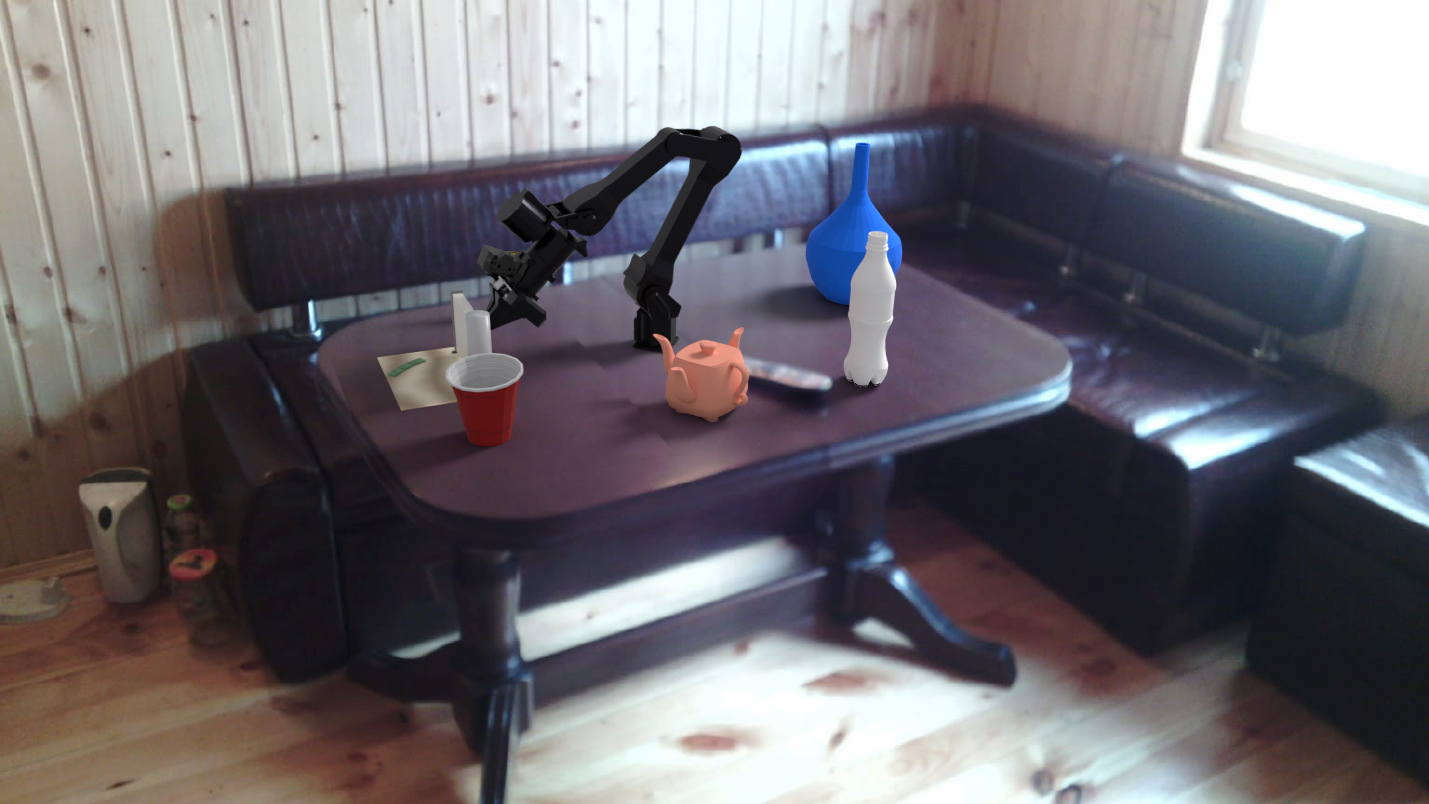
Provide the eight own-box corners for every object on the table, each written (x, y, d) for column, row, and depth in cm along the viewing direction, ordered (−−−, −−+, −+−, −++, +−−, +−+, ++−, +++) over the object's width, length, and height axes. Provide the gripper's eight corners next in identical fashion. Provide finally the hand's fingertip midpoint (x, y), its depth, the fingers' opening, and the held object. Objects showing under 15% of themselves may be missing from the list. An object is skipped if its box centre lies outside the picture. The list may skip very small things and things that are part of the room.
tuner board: (474, 350, 197) (473, 342, 196) (506, 401, 180) (506, 392, 179) (377, 364, 191) (376, 355, 190) (401, 417, 174) (401, 408, 173)
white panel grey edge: (496, 389, 180) (492, 317, 175) (473, 392, 178) (468, 320, 173) (470, 349, 193) (466, 281, 188) (449, 352, 192) (444, 283, 187)
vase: (806, 277, 235) (815, 130, 222) (897, 284, 233) (912, 136, 220) (799, 310, 219) (809, 152, 206) (897, 317, 217) (913, 159, 204)
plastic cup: (435, 451, 165) (428, 374, 159) (478, 421, 174) (474, 347, 168) (500, 468, 161) (495, 390, 156) (541, 436, 170) (538, 361, 165)
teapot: (670, 433, 172) (671, 365, 167) (652, 392, 184) (652, 328, 180) (764, 425, 175) (767, 358, 170) (740, 385, 188) (743, 322, 183)
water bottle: (890, 375, 193) (905, 230, 182) (881, 392, 187) (896, 243, 176) (848, 368, 195) (860, 224, 184) (837, 385, 189) (850, 237, 178)
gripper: (492, 212, 190) (429, 283, 190) (523, 246, 175) (455, 324, 175) (540, 253, 196) (479, 322, 197) (574, 289, 181) (508, 364, 182)
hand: (479, 331), depth 188 cm, fingers closed
